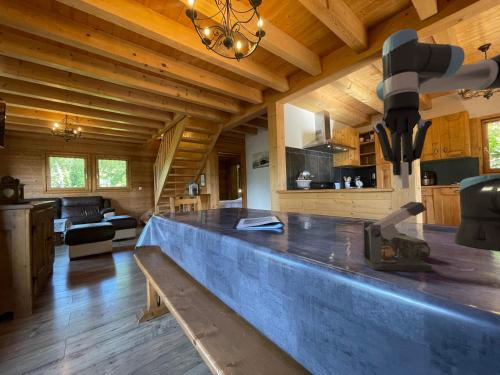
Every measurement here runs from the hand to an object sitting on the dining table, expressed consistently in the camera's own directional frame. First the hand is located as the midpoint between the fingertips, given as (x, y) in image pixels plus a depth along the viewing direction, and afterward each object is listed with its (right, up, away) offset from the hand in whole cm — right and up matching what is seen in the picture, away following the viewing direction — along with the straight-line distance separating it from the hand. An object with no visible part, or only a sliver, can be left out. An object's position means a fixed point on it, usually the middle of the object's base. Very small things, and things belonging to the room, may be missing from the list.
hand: (402, 188), depth 56 cm
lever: (0, -11, 0) cm, 11 cm away
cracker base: (-2, -20, 0) cm, 20 cm away
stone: (+7, -20, +10) cm, 23 cm away
